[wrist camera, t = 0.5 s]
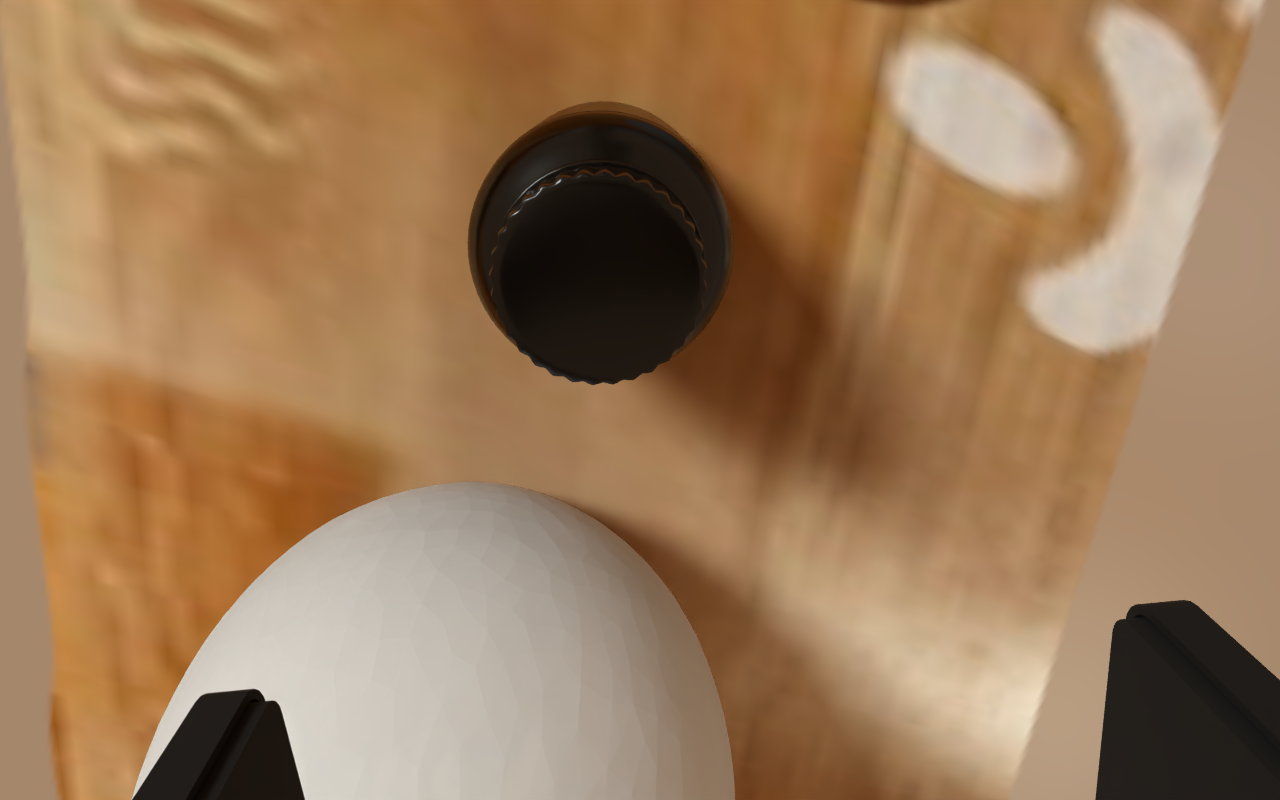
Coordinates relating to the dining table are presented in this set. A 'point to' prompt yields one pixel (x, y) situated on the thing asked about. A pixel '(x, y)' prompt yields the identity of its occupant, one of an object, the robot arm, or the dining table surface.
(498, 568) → the pitcher
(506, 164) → the supplement bottle
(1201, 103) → the dining table surface
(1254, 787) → the robot arm
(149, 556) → the dining table surface
